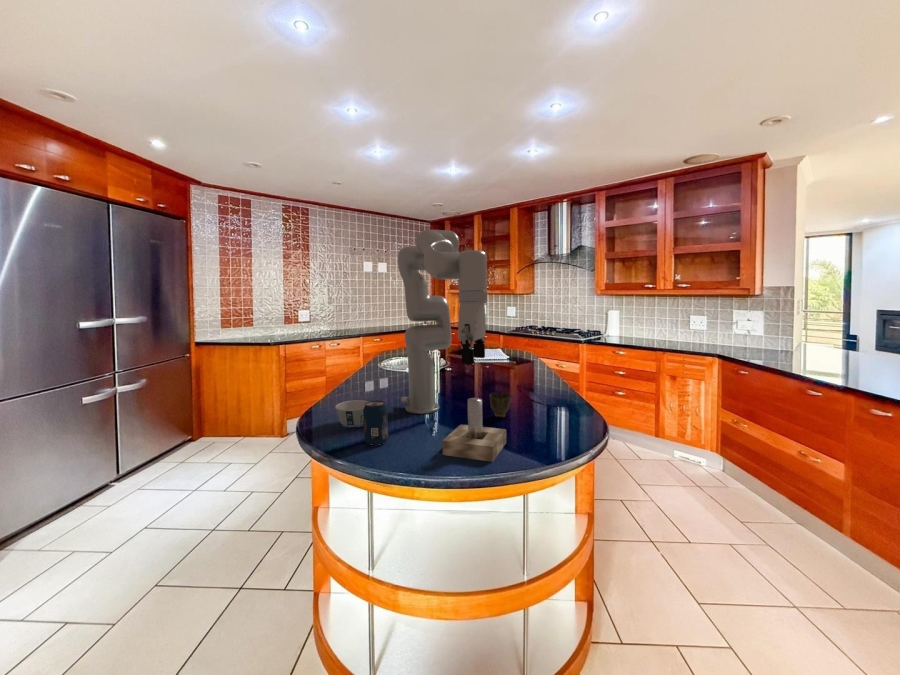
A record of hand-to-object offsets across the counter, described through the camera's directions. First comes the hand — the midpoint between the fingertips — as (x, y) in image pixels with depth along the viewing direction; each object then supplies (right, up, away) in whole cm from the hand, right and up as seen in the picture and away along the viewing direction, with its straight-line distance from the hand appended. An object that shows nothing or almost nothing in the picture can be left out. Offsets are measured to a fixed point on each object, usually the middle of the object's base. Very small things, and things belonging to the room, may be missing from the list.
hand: (473, 360), depth 111 cm
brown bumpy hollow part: (+11, -22, +31) cm, 39 cm away
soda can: (-28, -25, +9) cm, 39 cm away
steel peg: (+1, -25, +3) cm, 25 cm away
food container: (-39, -23, +27) cm, 53 cm away
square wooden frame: (+1, -25, +3) cm, 25 cm away
